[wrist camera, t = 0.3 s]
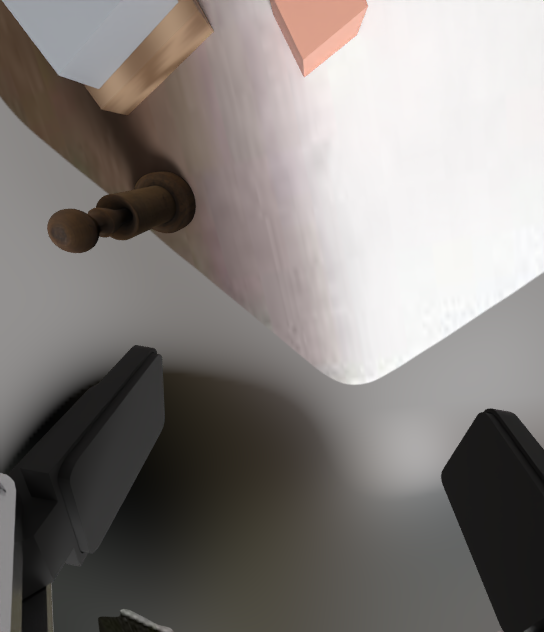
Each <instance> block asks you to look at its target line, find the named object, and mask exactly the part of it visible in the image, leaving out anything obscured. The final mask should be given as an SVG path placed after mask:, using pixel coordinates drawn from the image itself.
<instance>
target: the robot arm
mask: <svg viewBox="0 0 544 632" xmlns="http://www.w3.org/2000/svg"><path fill="white" fill-rule="evenodd" d="M164 414H165V413H164V392H163V369H162V356H161V355H160V354H157V351H156V349H154V348H149V347H144V346H138V345H135V346H134V347H132V348H131V349H130V350H129V351H128V352H127V353H126V354H125V356H124V357H123V358H122V359H121V360H120V361H119V362H118V363H117V364H116V365H115V366H114V367H113V368H112V369H111V371H110V372H109V373H108V374H107V375H106V376H105V377H104V378H103V379H102V380H101V381H100V382H99V383H98V385H95V386H92V387H91V388H90V389H89V390H88V391H86V393H85V394H84V395H83V396H82V397H81V398H80V399H79V400H78V401H77V402H76V403H75V404H74V405H73V406H72V407H71V408H70V409H69V410H68V411H67V412H66V414H65V415H64V416H63V417H62V418H61V419H60V420H59V421H58V422H57V423H56V424H55V425H54V426H53V427H52V428H51V429H50V431H48V433H47V434H46V435H45V436H44V437H43V438H42V439H41V440H40V441H39V442H38V443H37V444H36V445H35V446H34V447H33V448H32V449H31V450H30V451H29V452H28V453H27V454H26V455H25V457H24V458H23V459H22V460H21V461H20V462H19V463H18V464H17V465H16V466H15V467H14V468H13V469H12V470H11V471H10V472H9V473H8V474H7V475H5V474H2V473H0V632H53V611H52V590H51V589H52V587H51V582H53V581H54V580H55V578H56V577H57V575H58V573H59V572H60V570H61V568H62V567H63V565H64V563H65V564H70V565H75V566H81V565H82V563H83V561H84V559H85V557H86V556H87V554H88V553H94V552H95V551H96V550H97V548H98V547H99V545H100V544H101V542H102V540H103V538H104V536H105V534H106V532H107V531H108V529H109V527H110V525H111V523H112V521H113V519H114V517H115V516H116V514H117V512H118V510H119V508H120V506H121V505H122V503H123V501H124V499H125V497H126V495H127V494H128V492H129V490H130V488H131V486H132V484H133V482H134V481H135V479H136V477H137V475H138V473H139V471H140V469H141V468H142V466H143V464H144V462H145V460H146V458H147V457H148V455H149V453H150V451H151V449H152V447H153V446H154V444H155V442H156V440H157V438H158V436H159V434H160V433H161V431H162V428H163V425H164V421H165V415H164ZM441 479H442V483H443V486H444V489H445V491H446V494H447V496H448V499H449V501H450V503H451V506H452V508H453V511H454V513H455V516H456V518H457V520H458V523H459V526H460V528H461V530H462V533H463V535H464V537H465V540H466V543H467V545H468V547H469V550H470V552H471V555H472V557H473V560H474V562H475V565H476V567H477V570H478V572H479V574H480V577H481V579H482V582H483V584H484V587H485V589H486V592H487V594H488V597H489V599H490V601H491V604H492V606H493V609H494V611H495V614H496V616H497V619H498V621H499V624H500V626H501V628H502V630H503V631H504V632H544V449H543V448H542V447H541V446H540V445H539V443H538V442H537V441H536V439H535V438H534V437H533V436H532V435H531V433H530V432H529V431H528V430H527V428H526V427H525V426H524V424H523V423H522V422H521V421H520V420H519V418H518V417H517V416H516V415H515V414H514V413H511V412H508V411H502V410H496V409H487V410H485V411H484V412H481V413H479V414H478V415H477V417H476V418H475V420H474V422H473V423H472V425H471V426H470V428H469V429H468V431H467V433H466V434H465V436H464V437H463V439H462V440H461V442H460V443H459V445H458V447H457V448H456V450H455V451H454V453H453V454H452V456H451V458H450V459H449V461H448V462H447V464H446V465H445V467H444V469H443V471H442V474H441Z"/></svg>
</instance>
